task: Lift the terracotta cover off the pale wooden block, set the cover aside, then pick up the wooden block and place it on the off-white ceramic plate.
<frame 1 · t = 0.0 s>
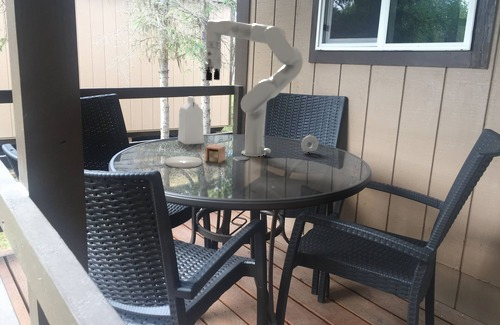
hand: (212, 80, 217), 37 cm above the table, tool pointing down, fingers open, 9 cm apart
milk: (190, 142, 244), on the table
donut: (308, 153, 226), on the table
block: (215, 155, 201), in the cover
plate: (183, 163, 195), on the table
cover: (215, 160, 202), on the table
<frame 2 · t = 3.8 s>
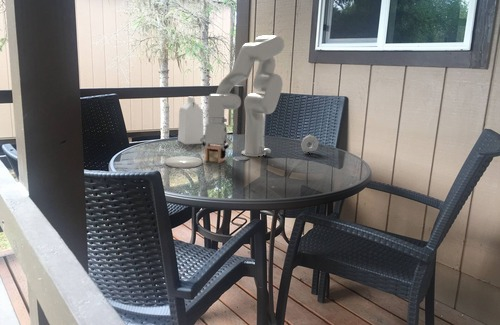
hand: (215, 156, 201), 2 cm above the table, tool pointing down, fingers closed on cover, 7 cm apart
cover: (215, 160, 202), on the table, touching gripper
everything else where it was.
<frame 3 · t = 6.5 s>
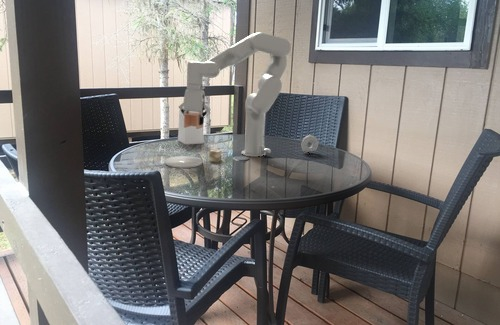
hand: (193, 123, 206), 16 cm above the table, tool pointing down, fingers closed on cover, 7 cm apart
cover: (193, 127, 206), point 14 cm above the table, touching gripper
everything else where it was.
when the fingers open (4 cm above the table, at t = 9.7 s): cover drops 2 cm, on the table.
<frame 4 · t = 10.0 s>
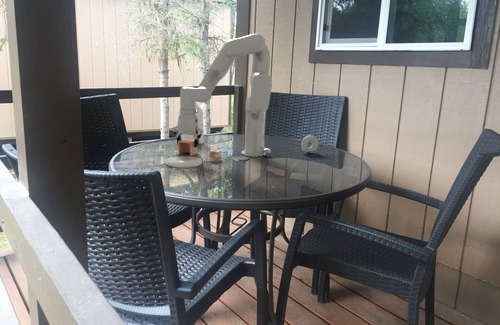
hand: (187, 145, 212), 4 cm above the table, tool pointing down, fingers open, 9 cm apart
cover: (187, 154, 213), on the table
everything else where it was.
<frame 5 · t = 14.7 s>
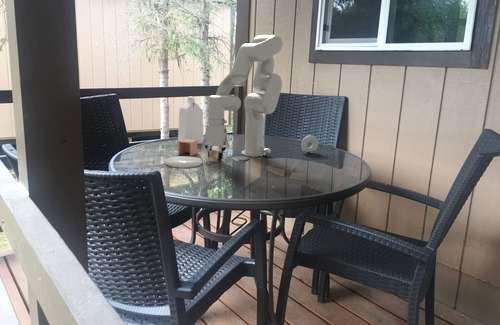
hand: (215, 159, 201), 1 cm above the table, tool pointing down, fingers closed on block, 4 cm apart
block: (215, 155, 201), on the table, touching gripper
everything else where it was.
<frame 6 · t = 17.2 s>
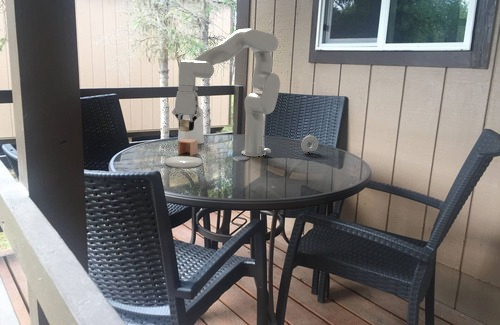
hand: (186, 129, 191), 16 cm above the table, tool pointing down, fingers closed on block, 4 cm apart
block: (186, 125, 191), point 18 cm above the table, touching gripper
everything else where it was.
when the fingers open (3 cm above the table, at t = 20.0 s): block drops 1 cm, resting on plate.
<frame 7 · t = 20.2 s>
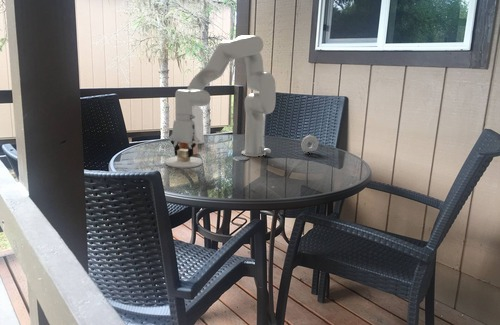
hand: (183, 155, 194), 4 cm above the table, tool pointing down, fingers open, 6 cm apart
block: (183, 155, 194), on the plate, point 4 cm above the table
everything else where it was.
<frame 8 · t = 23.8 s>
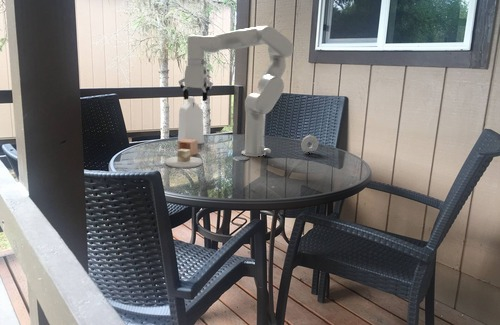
hand: (195, 100, 198), 28 cm above the table, tool pointing down, fingers open, 9 cm apart
nothing on the table moved.
at the end: block inside the target area on the plate (0.1 cm from its centre), point 3.7 cm above the plate's base; block tilted 0°; cover moved 18.9 cm from its start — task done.
